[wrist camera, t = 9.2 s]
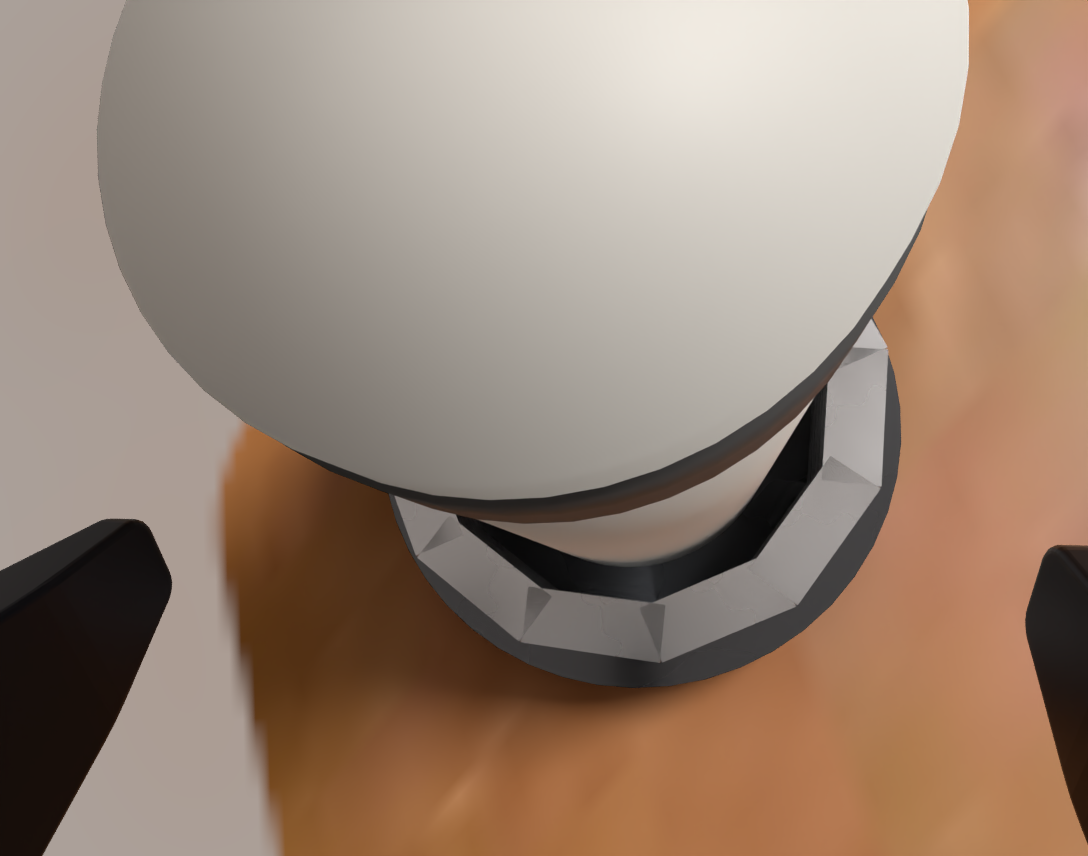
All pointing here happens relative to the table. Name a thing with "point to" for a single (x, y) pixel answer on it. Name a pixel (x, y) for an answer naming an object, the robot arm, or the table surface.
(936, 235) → the table surface
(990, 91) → the table surface
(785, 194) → the white domed cylinder
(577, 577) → the mount
